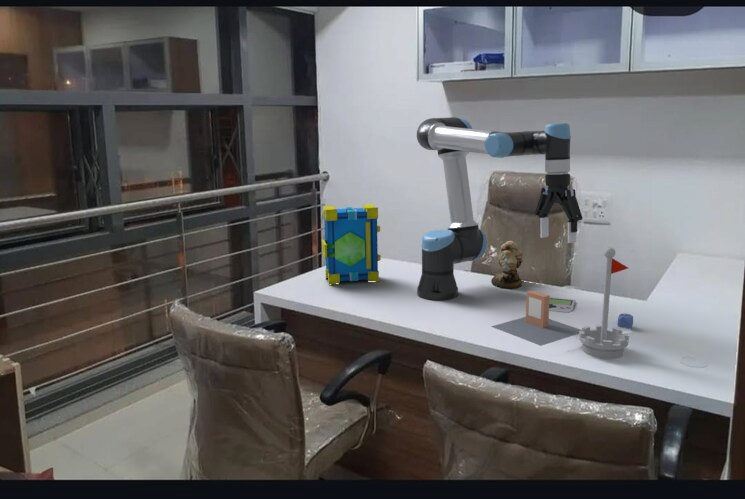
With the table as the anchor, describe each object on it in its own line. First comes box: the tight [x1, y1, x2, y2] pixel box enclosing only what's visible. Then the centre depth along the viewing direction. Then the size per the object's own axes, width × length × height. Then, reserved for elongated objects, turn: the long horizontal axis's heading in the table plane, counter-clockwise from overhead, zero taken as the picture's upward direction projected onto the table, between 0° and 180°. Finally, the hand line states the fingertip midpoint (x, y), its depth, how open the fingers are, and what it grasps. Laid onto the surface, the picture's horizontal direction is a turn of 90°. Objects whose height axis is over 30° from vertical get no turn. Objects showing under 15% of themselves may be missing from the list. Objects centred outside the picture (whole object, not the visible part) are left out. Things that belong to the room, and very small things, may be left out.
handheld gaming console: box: [549, 296, 576, 314], centre depth 216 cm, size 10×2×15 cm
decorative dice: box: [617, 313, 634, 330], centre depth 195 cm, size 4×4×4 cm
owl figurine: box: [490, 240, 523, 290], centre depth 244 cm, size 18×12×17 cm, turn 175°
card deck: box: [525, 290, 551, 328], centre depth 196 cm, size 7×2×10 cm, turn 34°
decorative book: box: [321, 203, 382, 285], centre depth 249 cm, size 14×23×30 cm, turn 100°
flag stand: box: [578, 247, 630, 360], centre depth 173 cm, size 13×13×30 cm
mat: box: [491, 316, 582, 347], centre depth 193 cm, size 20×20×1 cm
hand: (557, 239), depth 201 cm, fingers open, 13 cm apart
